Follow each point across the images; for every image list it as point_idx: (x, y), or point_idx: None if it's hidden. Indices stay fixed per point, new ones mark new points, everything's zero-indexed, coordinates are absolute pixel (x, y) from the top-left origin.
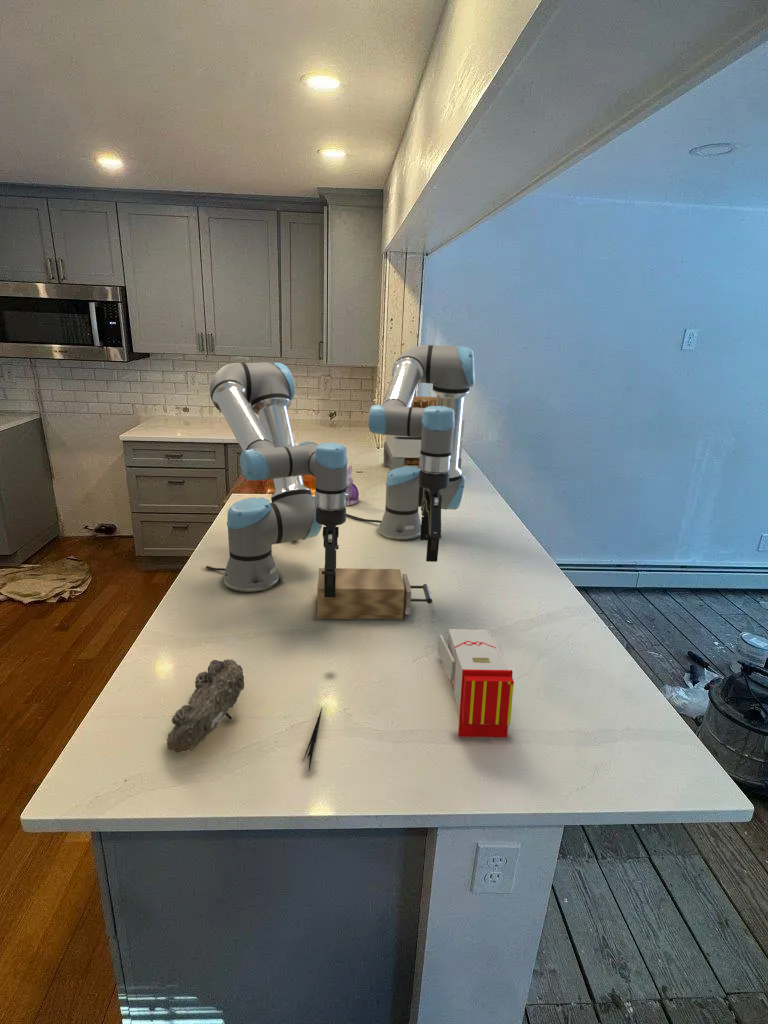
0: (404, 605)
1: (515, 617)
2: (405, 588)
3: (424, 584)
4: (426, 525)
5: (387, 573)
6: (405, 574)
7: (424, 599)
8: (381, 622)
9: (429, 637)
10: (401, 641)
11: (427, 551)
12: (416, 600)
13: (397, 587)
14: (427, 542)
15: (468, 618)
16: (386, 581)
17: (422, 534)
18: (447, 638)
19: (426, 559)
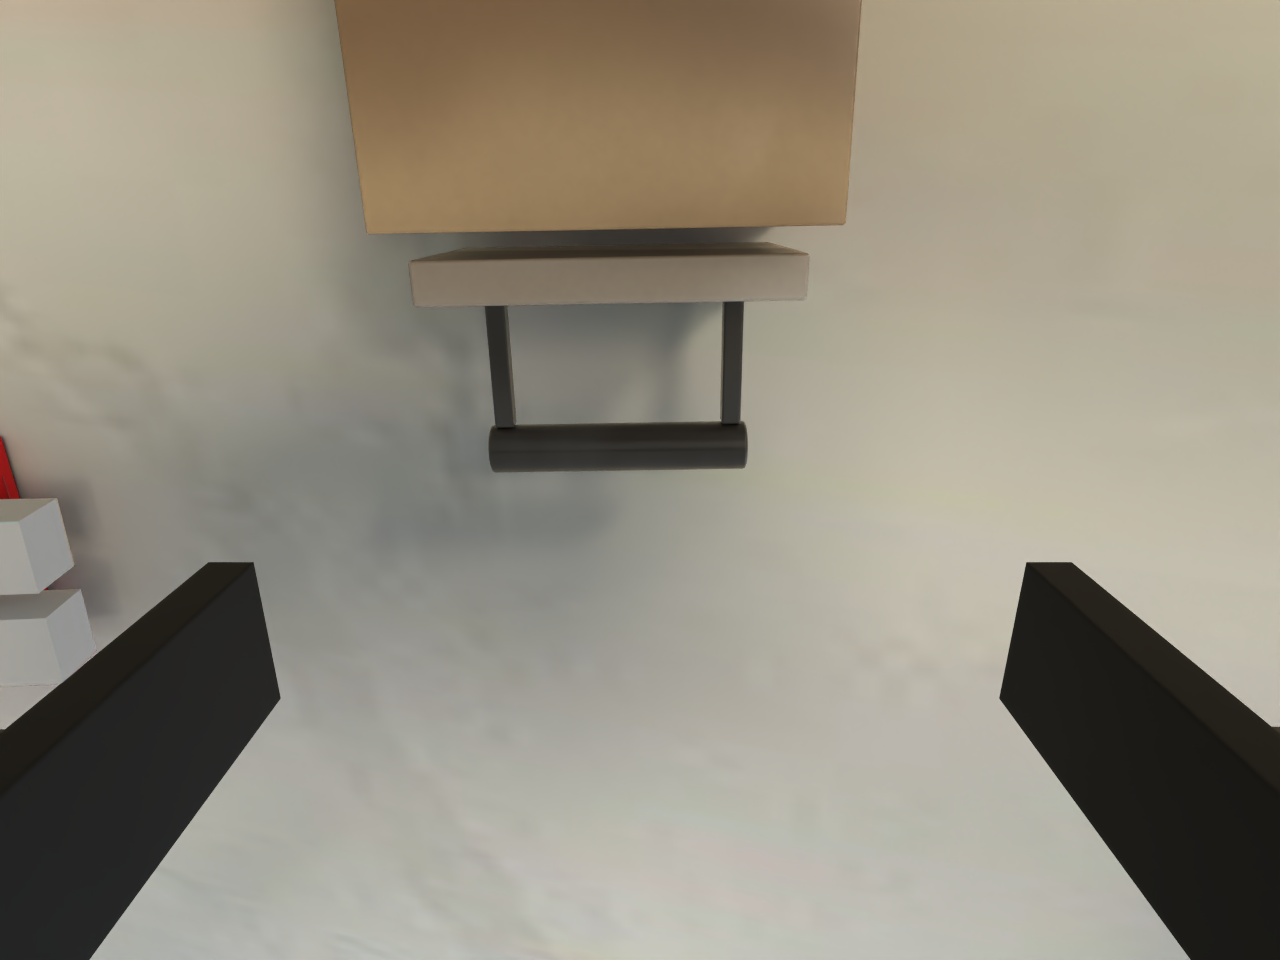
0: (542, 248)
1: (537, 867)
2: (525, 257)
3: (737, 442)
4: (1184, 828)
5: (731, 56)
6: (785, 280)
7: (498, 413)
8: None
9: (244, 389)
10: (154, 192)
11: (101, 658)
12: (490, 346)
13: (392, 157)
14: (13, 768)
15: (505, 646)
16: (524, 30)
17: (1076, 642)
18: (48, 501)
19: (197, 576)
